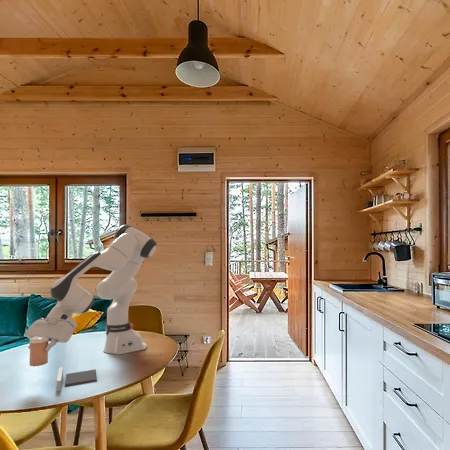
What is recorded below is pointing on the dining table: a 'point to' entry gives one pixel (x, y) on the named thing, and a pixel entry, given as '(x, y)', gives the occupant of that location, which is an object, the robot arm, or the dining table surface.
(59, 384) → the divider
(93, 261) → the robot arm
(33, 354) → the jar
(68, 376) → the plate
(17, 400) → the dining table surface
